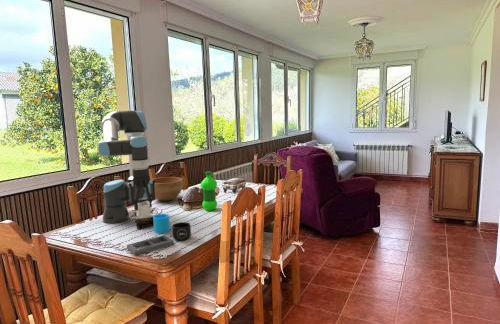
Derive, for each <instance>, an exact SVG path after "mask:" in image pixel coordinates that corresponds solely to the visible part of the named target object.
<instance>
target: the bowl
mask: <svg viewBox="0 0 500 324" xmlns="http://www.w3.org/2000/svg"><path fill="white" fill-rule="evenodd" d="M152 179H153V180H155V200H158V201H162V202H163V201H164V202H167V201H171V200H174V199H175V198H177V197H178V196H179V195H180V194H181V192H182V190H183V187H184V181H183V178H182V177H176V176H163V177H155V178H152ZM150 194H151V191H150Z"/></svg>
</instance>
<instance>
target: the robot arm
mask: <svg viewBox="0 0 500 324" xmlns="http://www.w3.org/2000/svg"><path fill="white" fill-rule="evenodd" d="M100 126H101V127H100V128H101V129H102V140H100V141H98V143H97V145H98V146H97V148H98V155H99V156H100V157H113V156H114V157H116V156H117V157H118V156H128V163H129V164H128V165H129V177H128V178H127V181H125V180H124V179H116V180H112V181H111V180H110V181H107V182H106V183H104V185H103V191H102V192H103V199H104V211H103V215H102V222H103V223H106V224H116V223H118V224H119V223H122V222H126V221H128V220H130V217H131V216H130V212H129V210H128V207H127V203H126V202H129V203H131V204H133V208H134V211H135V213H136V217H138V218H140V204H139V203H140V202H139V201H143V200H144V201H145V200H146V201H145V202H147V204H149V206H150V209H151V208H152V206H153V205H152V202H153V200H156V198H155V180H153V179H154V178H150V169H149V157H148V156H149V153H148V152H149V151H148V149H149V148H148V141H147V140H148V139H147V136H145V135H144V134H145V131H147V130H148V127H147V120H146V115H145V113H144V111H142V110H115V111H112V112H109V113H108V114H106V115H105V116H104V117H103V118H102V120H101V125H100ZM120 131H121V132H123V131H124V134H125V136H126V137H127V139H123V140H121V139H119V132H120ZM150 191H151V193H150ZM150 216H151V212H150Z"/></svg>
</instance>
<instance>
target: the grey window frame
mask: <svg viewBox="0 0 500 324" xmlns="http://www.w3.org/2000/svg"><path fill="white" fill-rule="evenodd" d="M174 240H175V239H172V238H170V237H168V236H167V235H165V234H163V235H159V236H156V237H152V238H148V239H144V240H141V241H135V242H133V243H132V242H131V243H128V244H126V249H127V250H128V251H129V253H131V254H132V255H133V256H137V255H138V256H139V255H141V254H142V255H143V254H145V253H149V252H152V251H156V250H161V249H163V248H165V247H166V248H167V247H170V246H173V245H174V244H175V241H174ZM140 246H141V247H140ZM144 246H145V247H144ZM139 247H140V248H139Z"/></svg>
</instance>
